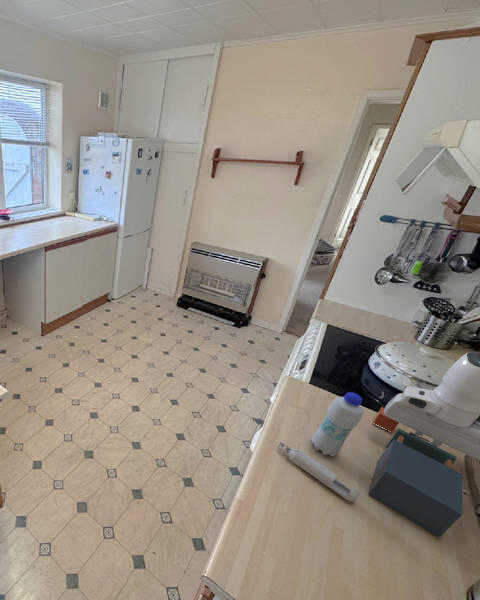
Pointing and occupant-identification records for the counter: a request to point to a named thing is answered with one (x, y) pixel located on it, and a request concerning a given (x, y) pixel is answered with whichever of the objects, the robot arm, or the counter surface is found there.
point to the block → (385, 421)
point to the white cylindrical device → (320, 472)
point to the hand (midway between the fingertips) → (420, 446)
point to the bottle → (338, 424)
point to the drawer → (423, 447)
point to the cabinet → (418, 488)
